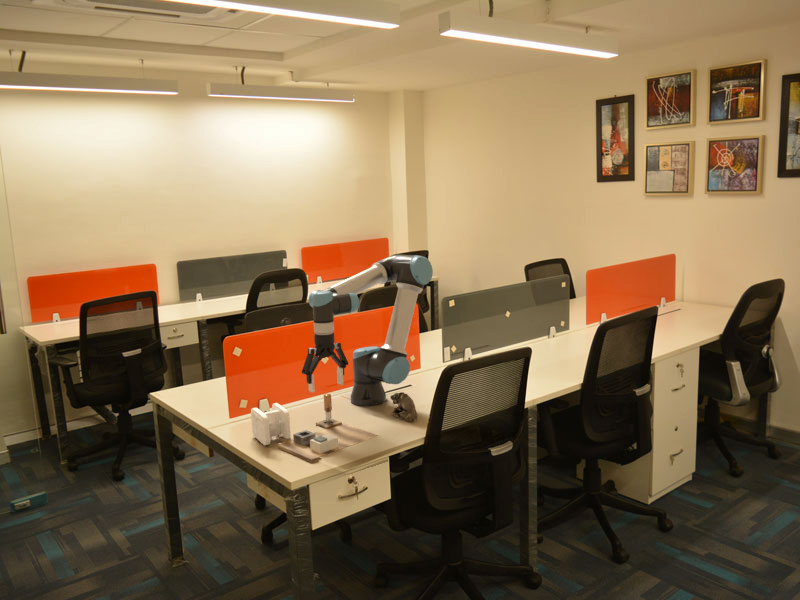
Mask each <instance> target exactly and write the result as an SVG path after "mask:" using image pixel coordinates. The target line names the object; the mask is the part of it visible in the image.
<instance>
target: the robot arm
mask: <svg viewBox="0 0 800 600" xmlns="http://www.w3.org/2000/svg"><path fill="white" fill-rule="evenodd" d="M433 269H434V268H433V265H432V263H431V261H430V259H428V257H425V256H422V255H419V254H418V255H417V254H415V255H414V254H401V253H399V254H397V253H396V254H393V255H390V256H387V257H385V258H383V259H380V260H378V261H376V262H374V263H372V264H371V266H370V267H368V268H367V269H365V270H362V271H360V272H359V273H357V274H354V275H352V276H350V277H348V278H346V279H344V280H342V281H340V282H338V283H336V284H334V285H331V286H330V287H326V288H325V289H323V290H320V289H317V290H313V291H312V292H310V294H309V296H308V303H309V306H310V307H311V308H312V315H313V332H314V334H313V339H314V340H313V342H314V345H315V346H314V348H313V347H308V348H307V355H306V357H305V361H304V364H303V367H302V369H301V374H303V375H306V384H308V385H307V386H308V392H309V393H315V392H316V389H315V375H314V372H315V370H316V368H317V367H318V364H319V363H320V361H322V359H326V358H331V359H332V360H333V362H334V363H335V364H336V365H337V367H336V379H337V381H336V382H337V383H336V384H337V385H341V386H344V376H345V368H347V366H348V365H349V361H348V359H347V357H346V355H345V353H344V351H343V349H342V343H340V342H336V341H335V333H334V332H335V319H334V318H335V316H339V315H344V314H351V313H355V312H357V311H358V309H360V299H359V297H358V294H360V293H362V292H363V293H364V291H366V290H368V289H371V288H372V287H375V286H377V285H378V284H379V285H383V284H386V283H389V282H395V285H396V287H397V292H396V297H395V301H394V305H393V309H392V312H391V317H390V320H389V321H390V322H389V325H388V328H387V333H386V337H385V341H384V344H383V345H381V346H380V347H379V346H366V347H360V348H357V349H355V350H354V351H353V352H352V369H353V387H352V390H351V394H350V403H351V404H352V405H356V406H364V407H367V406H377V405H380V404H383V403H384V402H386V400H387V394H386V392H385V389H384V386H383V384H382V382H383V383H385V384H389V385H400V384H401V383H402V382H404V381H405V380H406V379H407V378H408V376H409V374H410V370H411V364H410V361H409V360H408V358H407V357H408V353H407V351H406V345H407V342H408V338H409V334H410V329H411V326H412V322H413V318H414V312H415V309H416V304H417V301H418V300H417V299H418V297H419V294H420V293H421V292H423V290H424V286H426V285H427V284H429V282H431V281H432V279H433V273H434V271H433ZM335 351H336V353H335Z"/></svg>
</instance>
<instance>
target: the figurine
mask: <svg viewBox="0 0 800 600" xmlns="http://www.w3.org/2000/svg"><path fill="white" fill-rule="evenodd" d="M390 400H392V404H393V405H397V406H396V407H395V408H394V410H393V411H392V412H391V416H392V417H396V418H399V419H400V420H404V421H406V422H416V421H417V420H418V412H417V410H416V405H415V402H414V400H413V398H412V397H411V396H409V395H408V393H405V392H403V391H402V392H401V391H400V392H396V393H393V394H391V395H390Z"/></svg>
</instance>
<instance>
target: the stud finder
mask: <svg viewBox="0 0 800 600" xmlns="http://www.w3.org/2000/svg"><path fill="white" fill-rule="evenodd" d="M337 447H338V437H335V436H333V435H330V434H326V435H323V436H318V437H315V438H313V439H311V440H310V450H313V451H315V452H317V453H323V452H326V451H329V450H332V449H335V448H337Z"/></svg>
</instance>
